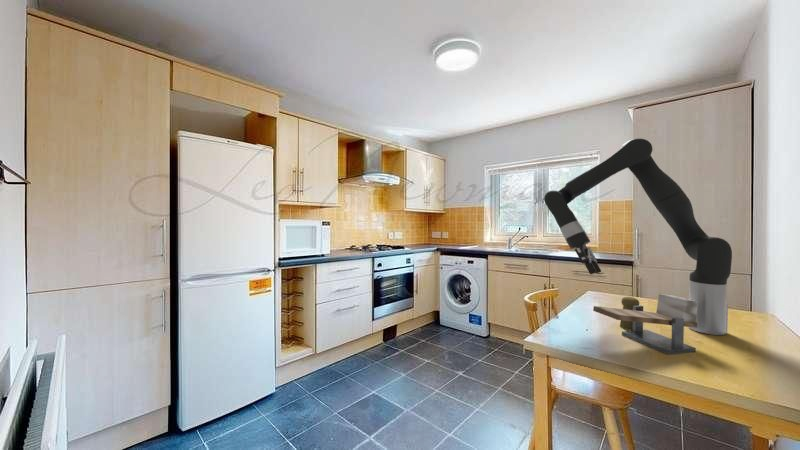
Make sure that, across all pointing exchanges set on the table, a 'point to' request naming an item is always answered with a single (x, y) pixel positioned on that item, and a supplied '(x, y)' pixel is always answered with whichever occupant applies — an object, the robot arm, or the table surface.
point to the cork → (628, 305)
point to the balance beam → (658, 312)
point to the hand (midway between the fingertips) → (596, 273)
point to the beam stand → (661, 337)
